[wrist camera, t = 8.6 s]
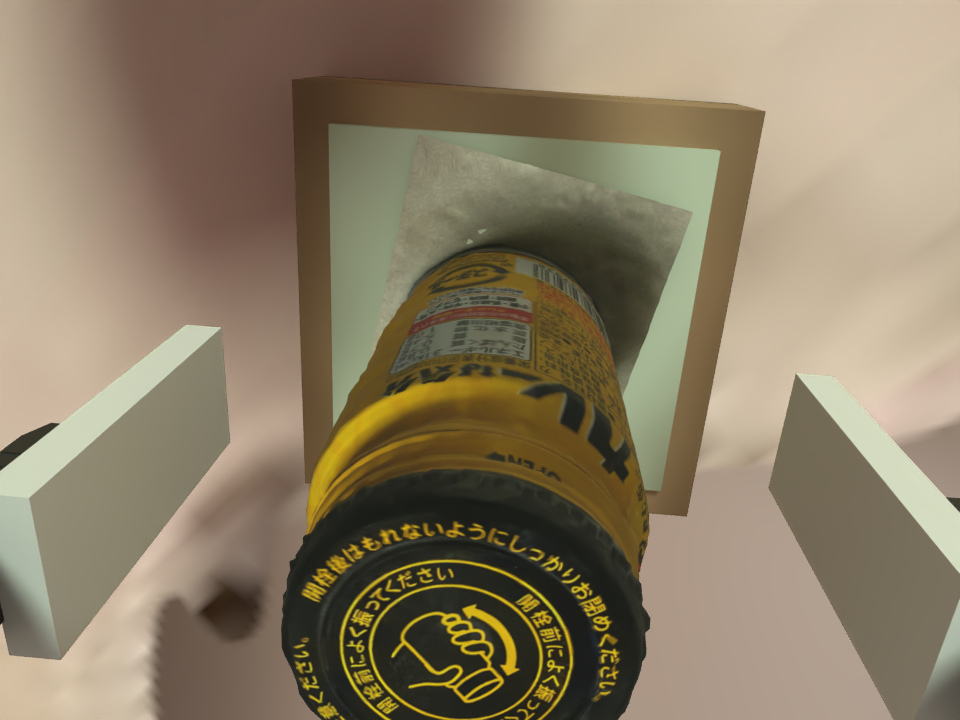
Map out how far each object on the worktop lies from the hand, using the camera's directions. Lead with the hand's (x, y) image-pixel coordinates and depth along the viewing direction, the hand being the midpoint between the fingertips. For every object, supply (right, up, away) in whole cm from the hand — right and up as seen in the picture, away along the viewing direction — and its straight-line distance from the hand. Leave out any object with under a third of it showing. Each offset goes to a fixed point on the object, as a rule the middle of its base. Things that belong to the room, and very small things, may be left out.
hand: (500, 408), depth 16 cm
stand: (+1, +3, +8) cm, 9 cm away
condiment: (0, +2, +5) cm, 6 cm away
